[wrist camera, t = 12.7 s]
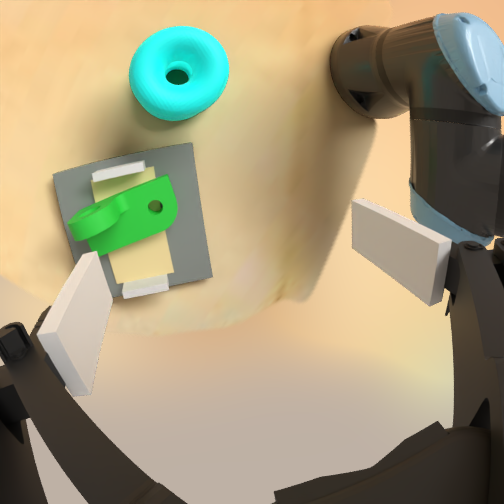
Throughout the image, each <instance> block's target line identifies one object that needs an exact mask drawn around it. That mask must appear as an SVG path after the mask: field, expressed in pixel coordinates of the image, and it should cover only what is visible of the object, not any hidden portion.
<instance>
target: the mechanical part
mask: <svg viewBox="0 0 504 504" xmlns="http://www.w3.org/2000/svg"><path fill="white" fill-rule="evenodd" d="M153 200H158V201H160V202H161V203H162V205H163V206H162V208H161V209H160V210H159V211H153V210H151V209H150V208H149V205H148V204H149V203H150V202H151V201H153ZM177 210H178V206H177V200H176V196H175V194H174V191H173V188H172V185H171V182H170V179H169V176H168V174H165V175H163V176H160V177H157V178H155V179H152V180H149V181H147V182H144V183H142V184H139V185H137V186H134V187H132V188H129V189H127V190H124V191H122V192H120V193H117V194H115V195H113V196H110V197H108V198H105V199H103V200H101V201H99V202H96V203H94V204H92V205H90V206H87V207H85V208H83V209H81V210H79V211H78V212H77V213H76V214H75V215H74V216H73V217H72V218H71V219H70V220H69V221H68V222H67V224H68V227H69V229H70V231H71V233H72V236H73V238H74V240H75V241H81V240H84V239H87V242H88V244H89V246H90V248H91V250H92V252H94V251H97V253H98V257H100V256H102V255H104V254H107V253H109V252H112V251H114V250H117V249H119V248H122V247H124V246H127V245H129V244H132V243H134V242H137V241H139V240H142V239H144V238H147V237H149V236H152V235H154V234H157V233H160V232H162V231H164V230H166V229H167V228H169V227H170V226H171V225H172V223H173V222H174V220H175V218H176V215H177Z"/></svg>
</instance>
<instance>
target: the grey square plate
mask: <svg viewBox="0 0 504 504" xmlns="http://www.w3.org/2000/svg"><path fill="white" fill-rule="evenodd" d="M165 174H168V176H169V179H170V182H171V185H172V188H173V191H174V194H175V196H176V200H177V206H178V210H177V215H176V218H175V220H174V222H173V223H172V225H171V226H170V227H169V228H167V229H166V230H164V231H162V232H160V233H157V234H154V235H152V236H149V237H147V238H144V239H142V240H139V241H137V242H134V243H132V244H129V245H127V246H124V247H122V248H119V249H117V250H114V251H112V252H109V253H107V254H104V255H102V256H100V257H99V260H100V263H101V266H102V269H103V272H104V275H105V278H106V281H107V284H108V287H109V290H110V293H111V295H112V298H113V297H118V296H123V297H124V299H127V298H132V297H137V296H142V295H147V294H152V293H157V292H162V291H167V290H169V286H173V285H178V284H183V283H187V282H192V281H197V280H202V279H207V278H211V277H213V275H212V269H211V264H210V258H209V252H208V246H207V240H206V234H205V227H204V221H203V215H202V208H201V201H200V195H199V188H198V181H197V174H196V167H195V160H194V152H193V145H192V143H185V144H179V145H173V146H168V147H162V148H157V149H152V150H147V151H142V152H137V153H132V154H128V155H123V156H119V157H114V158H110V159H106V160H102V161H98V162H94V163H90V164H86V165H82V166H78V167H75V168H71V169H68V170H64V171H61V172H57V173H55V174H53V179H54V184H55V188H56V193H57V198H58V202H59V206H60V210H61V214H62V218H63V222H64V226H65V230H66V233H67V237H68V240H69V244H70V247H71V251H72V254H73V257H74V260H75V264H77V263H78V261H79V259H80V258H81V256H82V255H83V254H86V253H90V252H92V250H91V248H90V246H89V244H88V242H87V239H84V240H81V241H75V240H74V238H73V236H72V233H71V231H70V229H69V227H68V224H67V222H68V221H69V220H70V219H71V218H72V217H73V216H74V215H75V214H76V213H77V212H78V211H79V210H81V209H83V208H85V207H87V206H90V205H92V204H94V203H96V202H99V201H101V200H103V199H105V198H108V197H110V196H113V195H115V194H117V193H120V192H122V191H124V190H127V189H129V188H132V187H134V186H137V185H139V184H142V183H144V182H147V181H149V180H152V179H155V178H157V177H160V176H163V175H165ZM148 205H149V208H150V209H151V210H153V211H159V210H160V209H161V208H162V206H163V205H162V203H161V202H160V201H158V200H153V201H151V202H150V203H149V204H148Z"/></svg>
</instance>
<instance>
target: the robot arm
mask: <svg viewBox="0 0 504 504" xmlns="http://www.w3.org/2000/svg"><path fill="white" fill-rule="evenodd" d="M330 68H331V74H332V78H333V81H334V84H335V86H336V89H337V91H338V92H339V94H340V96H341V97H342V98H343V100H344V101H345V102H346V103H347V104H348V105H349V106H350V107H351V108H352V109H353V110H354V111H356V112H357V113H359V114H361V115H363V116H366V117H369V118H375V119H389V118H393V117H396V116H398V115H401V114H403V113H405V112H407V111H409V110H410V136H411V137H410V138H411V173H410V178H409V186H410V195H411V196H410V197H411V199H410V201H411V203H410V207H411V212H412V215H413V217H414V218H415V220H416V221H417V222H418V223H416V222H415V221H412V220H410V219H408V218H406V217H404V216H402V215H399V214H397V213H395V212H393V211H391V210H389V209H386V208H384V207H382V206H380V205H377V204H375V203H373V202H370V201H368V200H366V199H357V200H351V201H352V248H353V249H354V250H355V251H357V252H358V253H360V254H361V255H362V256H364V257H365V258H367V259H368V260H369V261H370V262H372V263H373V264H375V265H376V266H377V267H379V268H380V269H381V270H383V271H384V272H385V273H387V274H388V275H389V276H391V277H392V278H393V279H395V280H396V281H397V282H398V283H400V284H401V285H402V286H404V287H405V288H406V289H408V290H409V291H410V292H412V293H413V294H414V295H415V296H417V297H418V298H419V299H420V300H422V301H423V302H424V303H426V304H427V305H428V306H432V305H434V304H436V303H439V302H441V301H442V297H443V293H444V288H446V289H447V290H448V291H450V296H449V300H448V305H447V309H446V313H445V315H446V316H447V315H448V313H449V312H450V318H451V330H452V343H453V363H454V416H453V427H452V428H448V429H444V428H443V427H442V425H441V424H440V423H439V422H438V421H437V422H435V423H433V424H432V425H430V426H428V427H426V428H425V429H423V430H421V431H419V432H418V433H416V434H414V435H413V436H411V437H409V438H407V439H405V440H404V441H403V442H402V443H400V444H399V445H398V446H397V447H396V448H395V449H394V450H393V451H391V452H390V453H389V454H388V455H386V456H385V457H384V458H383V459H382V460H380V461H379V462H378V463H377V464H375V465H374V466H373V467H371V468H368V469H364V470H359V471H354V472H349V473H343V474H337V475H331V476H323V477H319V478H316V479H313V480H310V481H307V482H304V483H301V484H298V485H294V486H291V487H288V488H285V489H281V490H278V491H274V495H275V500H276V502H274V503H272V504H504V135H502V134H501V130H500V129H501V116H504V45H503V44H502V42H501V41H500V39H499V37H498V36H497V34H496V33H495V32H494V31H493V29H492V28H491V27H490V26H489V25H488V24H486V22H484V21H483V20H482V19H480V18H479V17H477V16H475V15H473V14H469V13H453V14H437V15H436V16H434V17H430V18H425V19H422V20H418V21H414V22H410V23H407V24H404V25H400V26H397V27H394V28H387V27H379V26H370V25H366V26H359V27H356V28H354V29H351V30H349V31H347V32H345V33H343V34H342V35H341V36H340V37H339V38H338V39H337V41H336V42H335V44H334V46H333V49H332V52H331V58H330ZM414 119H416V120H414ZM428 120H430V121H428ZM440 121H441V122H440ZM458 123H459V124H458ZM494 235H496V236H500V237H503V238H497V239H495V243H494V249H493V250H486V248H485V246H487V245H489V244H490V243H491V241H492V240H493V239H494ZM112 303H113V298H112V295H111V293H110V290H109V287H108V284H107V281H106V278H105V275H104V272H103V269H102V266H101V263H100V260H99V257H98V253H97V251H94V252H90V253H86V254H83V255H82V256H81V258H80V259H79V261H78V263H77V264H76V266H75V267H74V269H73V271H72V272H71V274H70V276H69V277H68V279H67V281H66V282H65V284H64V286H63V287H62V289H61V291H60V293H59V294H58V296H57V298H56V300H55V301H54V303H53V305H52V306H49V307H48V308H47V309H46V310H45V311H44V312H43V313H42V314H41V316H40V318H39V319H38V322H37V323H36V325H35V327H34V329H33V330H32V332H31V334H30V336H29V335H28V334H27V331H26V329H25V327H24V325H23V324H22V323H20V322H14V323H10V324H8V325H6V326H4V327H2V328H1V329H0V357H1V359H2V360H3V362H4V364H5V365H3V366H0V504H48V502H47V499H46V496H45V493H44V490H43V487H42V484H41V480H40V477H39V474H38V470H37V467H36V463H35V460H34V455H33V451H32V447H31V443H30V438H29V434H28V429H27V424H26V419H27V418H31V420H32V421H33V423H34V425H35V427H36V428H37V430H38V432H39V434H40V435H41V437H42V439H43V440H44V442H45V443H46V445H47V447H48V448H49V450H50V451H51V453H52V454H53V456H54V457H55V459H56V460H57V462H58V463H59V465H60V466H61V468H62V469H63V471H64V472H65V473H66V475H67V476H68V477H69V479H70V480H71V482H72V483H73V484H74V486H75V487H76V488H77V489H78V491H79V492H80V493H81V495H82V496H83V497H84V499H85V500H86V501H87V502H88V503H89V504H187V503H186V502H184V501H183V500H182V499H180V498H179V497H177V496H176V495H175V494H174V493H172V492H171V491H170V490H168V489H167V488H166V487H165V486H163V485H162V484H160V483H156V482H155V481H154V480H153V479H151V478H150V477H149V476H148V475H147V474H145V473H144V472H143V471H142V470H141V469H140V468H138V467H137V465H135V464H134V463H133V462H132V461H131V460H130V459H129V458H128V457H127V456H126V455H125V454H124V453H123V452H122V451H121V450H120V449H119V448H118V447H116V445H115V444H113V442H112V441H111V440H109V438H108V437H107V436H106V435H105V434H104V433H103V432H102V431H101V430H100V429H99V428H98V427H97V426H96V424H95V423H94V422H93V421H92V420H91V419H90V418H89V417H88V416H87V414H86V413H85V412H84V411H83V410H82V409H81V407H80V406H79V405H78V404H77V403H76V402H75V400H74V399H73V398H72V397H71V395H70V394H69V393H68V392H67V390H66V389H65V385H66V386H67V388H68V390H69V391H70V393H71V394H72V396H84V395H91V393H92V387H93V382H94V377H95V372H96V368H97V363H98V358H99V353H100V350H101V345H102V341H103V337H104V333H105V329H106V325H107V321H108V317H109V314H110V310H111V306H112Z"/></svg>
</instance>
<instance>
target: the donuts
mask: <svg viewBox="0 0 504 504" xmlns="http://www.w3.org/2000/svg"><path fill="white" fill-rule="evenodd" d="M175 69H176V70H182V71H184V72H185V73H186V74H187V75H188V79H189V80H188V82H187V83H185V84H182V85H174V84H171V83H169V82H168V81H167V80H166V78H165V77H166V75H167V74H168V73H169V72H170V71H172V70H175ZM228 76H229V63H228V58H227V55H226V53H225V51H224V49H223V47H222V46H221V44H220V43H219V42H218V41H217V40H216V39H215V38H214V37H213V36H212V35H210V34H209V33H207V32H205V31H203V30H201V29H198V28H194V27H189V26H175V27H170V28H166V29H163V30H160V31H158V32H156V33H154V34H153V35H151V36H150V37H149V38H147V39H146V40H145V41H144V42H143V43H142V44H141V45H140V46H139V48H138V49H137V50H136V52H135V54H134V56H133V58H132V61H131V64H130V69H129V81H130V86H131V89H132V92H133V94H134V96H135V97H136V99H137V100H138V101H139V103H140V104H141V105H142V106H143V108H144V109H145V110H146V111H147V112H149V113H150V114H151V115H153V116H155V117H157V118H159V119H163V120H168V121H180V120H185V119H188V118H191V117H193V116H195V115H197V114H198V113H200V112H202V111H204V110H206V109H207V108H208V107H210V106H211V105H212V104H213V103H214V102H215V101H216V100H217V99H218V98H219V97H220V95H221V94H222V92H223V91H224V89H225V87H226V84H227V81H228Z"/></svg>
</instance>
